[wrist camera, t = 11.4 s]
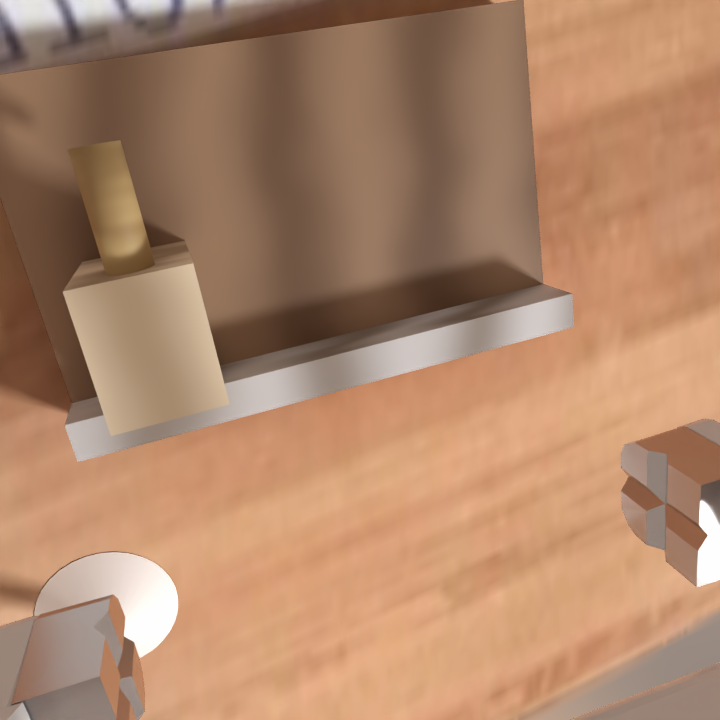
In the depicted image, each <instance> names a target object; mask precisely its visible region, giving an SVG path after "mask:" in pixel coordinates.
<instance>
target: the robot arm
mask: <svg viewBox="0 0 720 720" xmlns="http://www.w3.org/2000/svg"><path fill="white" fill-rule="evenodd" d="M621 468H622V470H623V471H624V472H625V473H626V474H627V475H628V476H629V477H628V479H627V481H626V483H625V485H624V486H623V488H622V490H621V502H622V510H623V513H624V515H625V518H626V521H627V523H628V525H629V527H630V528H631V529H632V531H633V532H634V533H635V535H636V536H637V537H638V538H639V539H641V540H642V541H643V542H644V543H645V544H646V545H649V546H652V547H656V548H659V549H662V550H665V558H666V562H667V563H669V564H670V565H671V566H672V567H673V568H674V569H676V570H677V571H678V572H679V573H680V574H682V575H683V576H684V577H685V578H686V579H688V580H689V581H690V582H691V583H692V584H693V585H695V586H696V587H699V586H702V585H705V584H708V583H712V582H715V581H718V580H720V423H719V422H717V421H715V420H709V419H701V420H698V421H695V422H692V423H689V424H686V425H683V426H680V427H678V428H677V429H673V430H670V431H667V432H664V433H660V434H657V435H654V436H651V437H648V438H644V439H641V440H638V441H635V442H631V443H628V444H625V445H624V447H623V450H622V453H621ZM124 629H125V615H124V612H123V610H122V607H121V605H120V602H119V600H118V598H117V597H116V596H115V595H109V596H105V597H102V598H98V599H94V600H91V601H87V602H83V603H80V604H76V605H72V606H69V607H65V608H61V609H58V610H54V611H50V612H47V613H43V614H40V615H39V616H32V617H29V618H25V619H22V620H19V621H15V622H12V623H9V624H5V625H2V626H1V627H0V720H139V719H140V717H141V716H142V715H143V713H144V712H145V689H144V679H143V671H142V667H141V663H140V659H139V655H138V652H137V649H136V646H135V643H134V642H133V641H131V640H130V639H128V638H126V637H124ZM571 720H720V663H717V664H715V665H712V666H709V667H707V668H704V669H701V670H699V671H696V672H694V673H691V674H689V675H686V676H683V677H681V678H678V679H675V680H673V681H670V682H667V683H665V684H662V685H659V686H657V687H654V688H651V689H649V690H647V691H644V692H641V693H638V694H636V695H633V696H631V697H628V698H625V699H623V700H620V701H618V702H615V703H612V704H610V705H607V706H605V707H602V708H599V709H597V710H594V711H592V712H589V713H587V714H584V715H581V716H579V717H576V718H573V719H571Z"/></svg>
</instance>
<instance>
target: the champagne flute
mask: <svg viewBox="0 0 720 720" xmlns="http://www.w3.org/2000/svg"><path fill="white" fill-rule="evenodd" d="M109 595H115V596H116V597H117V598H118V600H119V602H120V605H121V607H122V610H123V612H124V615H125V629H124V637H126V638H128V639H130V640H131V641H133V642H134V643H135V646H136V649H137V652H138V655H139V658H141V657H143V656H144V655H146V654H147V653H149V652H150V651H152V650H153V649H154V648H155V647H156V646H158V645H159V644H160V643H161V642H162V641H163V640H164V638H165V637H166V636H167V634H168V633H169V632H170V630H171V628H172V626H173V624H174V622H175V620H176V616H177V612H178V596H177V591H176V588H175V586H174V584H173V582H172V580H171V578H170V577H169V576H168V574H167V573H166V572H165V571H164V570H163V569H162V568H161V567H159V566H158V565H157V564H155V563H154V562H152V561H150V560H148V559H146V558H144V557H141V556H138V555H134V554H130V553H120V552H109V553H99V554H95V555H91V556H86V557H84V558H81V559H79V560H77V561H74V562H72V563H70V564H69V565H67V566H66V567H64V568H62V569H61V570H59V571H58V572H57V573H56V574H55V575H54V576H53V577H52V578H51V579H50V580H49V581H48V582H47V584H46V585H45V586H44V588H43V589H42V590H41V593H40V595H39V597H38V599H37V601H36V606H35V611H34V616H39V615H40V614H43V613H47V612H50V611H54V610H58V609H61V608H65V607H69V606H72V605H76V604H80V603H83V602H87V601H91V600H94V599H98V598H102V597H105V596H109Z"/></svg>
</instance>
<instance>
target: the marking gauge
mask: <svg viewBox="0 0 720 720" xmlns="http://www.w3.org/2000/svg"><path fill="white" fill-rule="evenodd" d="M67 150H68V153H69V156H70V159H71V163H72V166H73V169H74V172H75V175H76V179H77V182H78V185H79V188H80V192H81V195H82V198H83V201H84V205H85V208H86V211H87V214H88V218H89V221H90V224H91V227H92V231H93V234H94V237H95V240H96V244H97V247H98V250H99V253H100V257H101V258H99V259H94V260H89V261H85V262H82V263H81V265H80V266H79V268H78V269H77V271H76V272H75V274H74V275H73V277H72V278H71V280H70V281H69V283H68V284H67V286H66V287H65V289H64V290H63V294H64V297H65V300H66V303H67V306H68V309H69V312H70V315H71V318H72V321H73V324H74V327H75V330H76V333H77V336H78V339H79V342H80V345H81V348H82V351H83V354H84V357H85V360H86V363H87V366H88V369H89V372H90V375H91V378H92V381H93V384H94V387H95V390H96V393H97V396H98V399H99V402H100V405H101V408H102V411H103V414H104V417H105V420H106V423H107V426H108V429H109V432H110V435H111V436H114V435H117V434H121V433H125V432H128V431H132V430H136V429H140V428H143V427H147V426H151V425H155V424H158V423H162V422H166V421H170V420H173V419H177V418H181V417H184V416H188V415H192V414H196V413H199V412H203V411H207V410H211V409H214V408H218V407H222V406H225V405H229V404H230V403H229V399H228V395H227V391H226V388H225V384H224V380H223V376H222V372H221V368H220V364H219V361H218V357H217V353H216V349H215V345H214V341H213V337H212V334H211V330H210V326H209V322H208V318H207V314H206V310H205V307H204V303H203V299H202V295H201V291H200V287H199V283H198V280H197V276H196V272H195V268H194V264H193V261H192V258H191V255H190V253H189V250H188V247H187V244H186V242H185V241H180V242H175V243H171V244H166V245H161V246H156V247H151V248H150V244H149V240H148V237H147V233H146V230H145V226H144V223H143V219H142V215H141V212H140V208H139V205H138V201H137V198H136V194H135V190H134V187H133V183H132V180H131V176H130V172H129V169H128V165H127V162H126V158H125V155H124V151H123V147H122V144H121V140H118V141H111V142H104V143H98V144H92V145H86V146H81V147H76V148H71V149H67Z"/></svg>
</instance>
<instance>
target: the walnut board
mask: <svg viewBox="0 0 720 720" xmlns="http://www.w3.org/2000/svg"><path fill="white" fill-rule="evenodd" d="M118 140H121V144H122V147H123V151H124V155H125V158H126V162H127V165H128V169H129V172H130V176H131V180H132V183H133V187H134V190H135V194H136V198H137V201H138V205H139V208H140V212H141V215H142V219H143V223H144V226H145V230H146V233H147V237H148V240H149V244H150V248H151V247H156V246H161V245H166V244H171V243H175V242H180V241H185V242H186V244H187V247H188V250H189V253H190V255H191V258H192V261H193V264H194V268H195V272H196V276H197V280H198V283H199V287H200V291H201V295H202V299H203V303H204V307H205V310H206V314H207V318H208V322H209V326H210V330H211V334H212V337H213V341H214V345H215V349H216V353H217V357H218V361H219V364H220V368H221V372H222V376H223V380H224V384H225V388H226V391H227V395H228V399H229V403H230V404H229V405H225V406H222V407H218V408H214V409H211V410H207V411H203V412H199V413H196V414H192V415H188V416H184V417H181V418H177V419H173V420H170V421H166V422H162V423H158V424H155V425H151V426H147V427H143V428H140V429H136V430H132V431H128V432H125V433H121V434H117V435H114V436H111V435H110V432H109V429H108V426H107V423H106V420H105V417H104V414H103V411H102V408H101V405H100V402H99V399H98V396H97V393H96V390H95V387H94V384H93V381H92V378H91V375H90V372H89V369H88V366H87V363H86V360H85V357H84V354H83V351H82V348H81V345H80V342H79V339H78V336H77V333H76V330H75V327H74V324H73V321H72V318H71V315H70V312H69V309H68V306H67V303H66V300H65V297H64V294H63V290H64V289H65V287H66V286H67V284H68V283H69V281H70V280H71V278H72V277H73V275H74V274H75V272H76V271H77V269H78V268H79V266H80V265H81V263H82V262H85V261H89V260H94V259H99V258H101V257H100V253H99V250H98V247H97V244H96V240H95V237H94V234H93V231H92V227H91V224H90V221H89V218H88V214H87V211H86V208H85V205H84V201H83V198H82V195H81V192H80V188H79V185H78V182H77V179H76V175H75V172H74V169H73V166H72V163H71V159H70V156H69V153H68V150H67V149H71V148H76V147H81V146H86V145H92V144H98V143H104V142H111V141H118ZM0 199H1V202H2V205H3V208H4V210H5V213H6V216H7V219H8V222H9V225H10V228H11V230H12V233H13V236H14V239H15V242H16V245H17V248H18V250H19V253H20V256H21V259H22V262H23V265H24V268H25V271H26V273H27V276H28V279H29V282H30V285H31V288H32V291H33V293H34V296H35V299H36V302H37V305H38V308H39V311H40V313H41V316H42V319H43V322H44V325H45V328H46V331H47V333H48V336H49V339H50V342H51V345H52V348H53V351H54V354H55V356H56V359H57V362H58V365H59V368H60V371H61V374H62V376H63V379H64V382H65V385H66V388H67V391H68V394H69V396H70V399H71V402H72V404H71V407H70V410H69V413H68V416H67V419H66V422H65V428H66V431H67V433H68V436H69V439H70V442H71V445H72V447H73V450H74V453H75V456H76V459H77V461H78V462H80V461H84V460H88V459H91V458H95V457H99V456H102V455H106V454H110V453H113V452H117V451H121V450H124V449H128V448H132V447H135V446H139V445H143V444H146V443H150V442H154V441H157V440H161V439H165V438H168V437H172V436H176V435H179V434H183V433H187V432H190V431H194V430H198V429H201V428H205V427H209V426H212V425H216V424H220V423H223V422H227V421H231V420H234V419H238V418H242V417H245V416H249V415H253V414H256V413H260V412H264V411H267V410H271V409H275V408H278V407H282V406H286V405H290V404H293V403H297V402H301V401H304V400H308V399H312V398H315V397H319V396H323V395H326V394H330V393H334V392H337V391H341V390H345V389H348V388H352V387H356V386H359V385H363V384H367V383H370V382H374V381H378V380H381V379H385V378H389V377H392V376H396V375H400V374H403V373H407V372H411V371H414V370H418V369H422V368H425V367H429V366H433V365H436V364H440V363H444V362H447V361H451V360H455V359H458V358H462V357H466V356H469V355H473V354H477V353H480V352H484V351H488V350H491V349H495V348H499V347H502V346H506V345H510V344H514V343H517V342H521V341H525V340H528V339H532V338H536V337H539V336H543V335H547V334H550V333H554V332H558V331H561V330H565V329H569V328H572V327H574V319H573V300H572V293H569V292H566V291H563V290H560V289H557V288H554V287H551V286H548V285H545V284H543V273H542V259H541V245H540V231H539V216H538V202H537V188H536V174H535V159H534V145H533V131H532V116H531V102H530V88H529V74H528V59H527V45H526V31H525V16H524V2H523V0H516V1H509V2H502V3H495V4H488V5H481V6H474V7H467V8H460V9H453V10H446V11H439V12H432V13H425V14H418V15H411V16H404V17H397V18H390V19H383V20H376V21H369V22H362V23H355V24H348V25H341V26H334V27H327V28H321V29H314V30H307V31H300V32H293V33H286V34H279V35H272V36H265V37H258V38H251V39H244V40H237V41H230V42H223V43H216V44H209V45H202V46H195V47H188V48H181V49H174V50H167V51H160V52H153V53H146V54H139V55H132V56H125V57H118V58H111V59H104V60H97V61H91V62H84V63H77V64H70V65H63V66H56V67H49V68H42V69H35V70H28V71H21V72H14V73H7V74H0Z"/></svg>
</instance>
